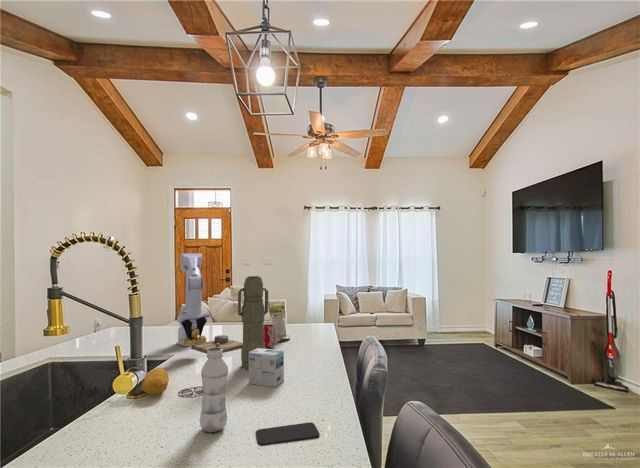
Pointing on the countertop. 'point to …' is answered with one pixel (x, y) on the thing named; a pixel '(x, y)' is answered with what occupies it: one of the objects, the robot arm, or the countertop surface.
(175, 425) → the countertop surface
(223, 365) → the plastic bottle
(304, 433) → the phone
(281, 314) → the white paper bag
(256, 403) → the countertop surface
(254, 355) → the light bulb box
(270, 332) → the soda can
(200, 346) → the carrier plate
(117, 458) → the countertop surface
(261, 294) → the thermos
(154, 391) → the potato
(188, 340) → the brass gear
